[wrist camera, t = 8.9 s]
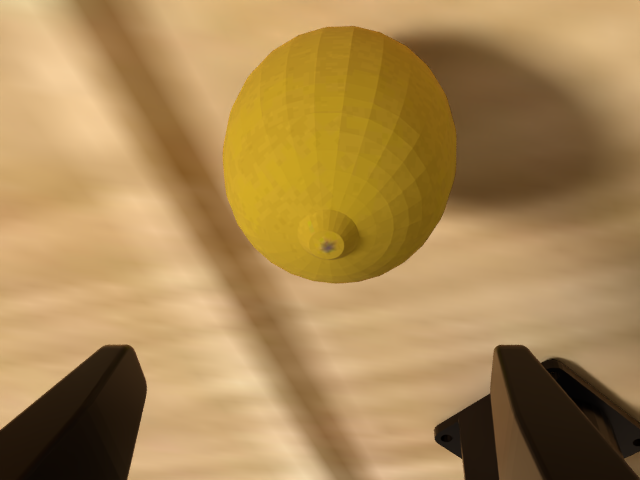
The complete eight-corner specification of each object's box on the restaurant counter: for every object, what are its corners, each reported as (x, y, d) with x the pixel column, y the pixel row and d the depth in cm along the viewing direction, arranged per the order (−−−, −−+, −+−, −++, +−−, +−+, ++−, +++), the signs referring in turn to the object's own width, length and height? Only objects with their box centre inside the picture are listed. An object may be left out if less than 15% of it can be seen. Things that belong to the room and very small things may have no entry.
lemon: (341, 200, 20) (318, 385, 14) (219, 78, 18) (124, 228, 12) (482, 98, 18) (535, 266, 11) (360, -56, 16) (339, 40, 9)
